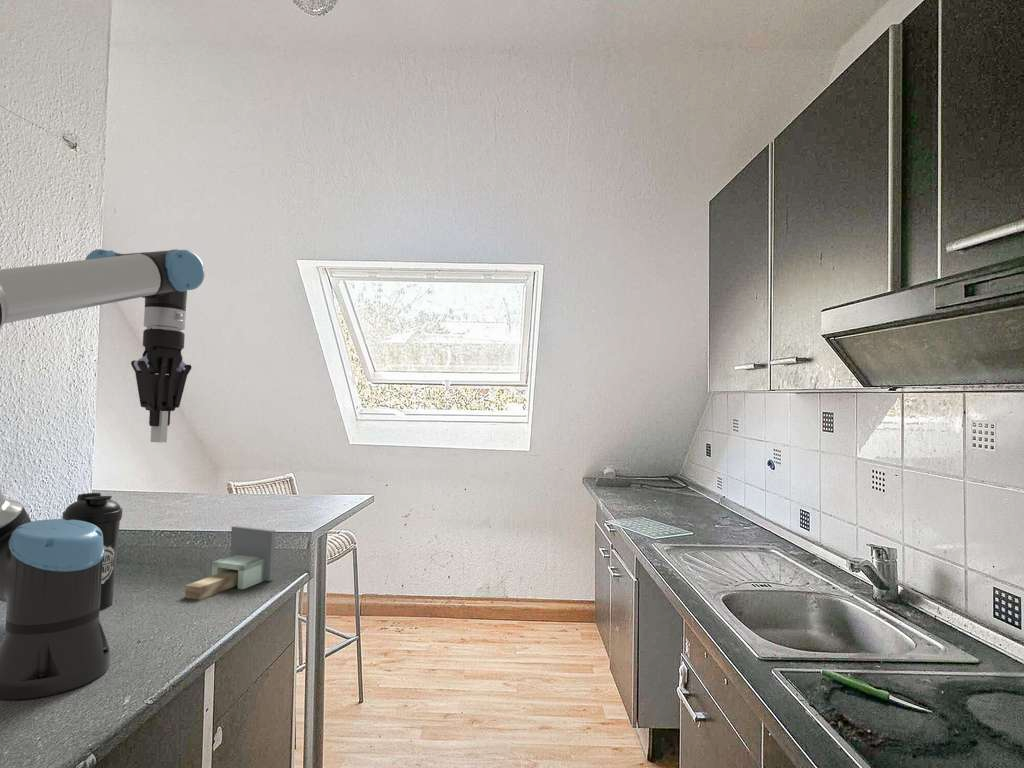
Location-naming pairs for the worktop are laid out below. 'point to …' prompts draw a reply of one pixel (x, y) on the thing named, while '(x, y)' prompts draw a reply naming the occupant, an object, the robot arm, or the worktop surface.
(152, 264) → the robot arm
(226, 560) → the end cap
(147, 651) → the worktop surface
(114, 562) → the water bottle
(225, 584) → the slat
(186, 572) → the worktop surface
